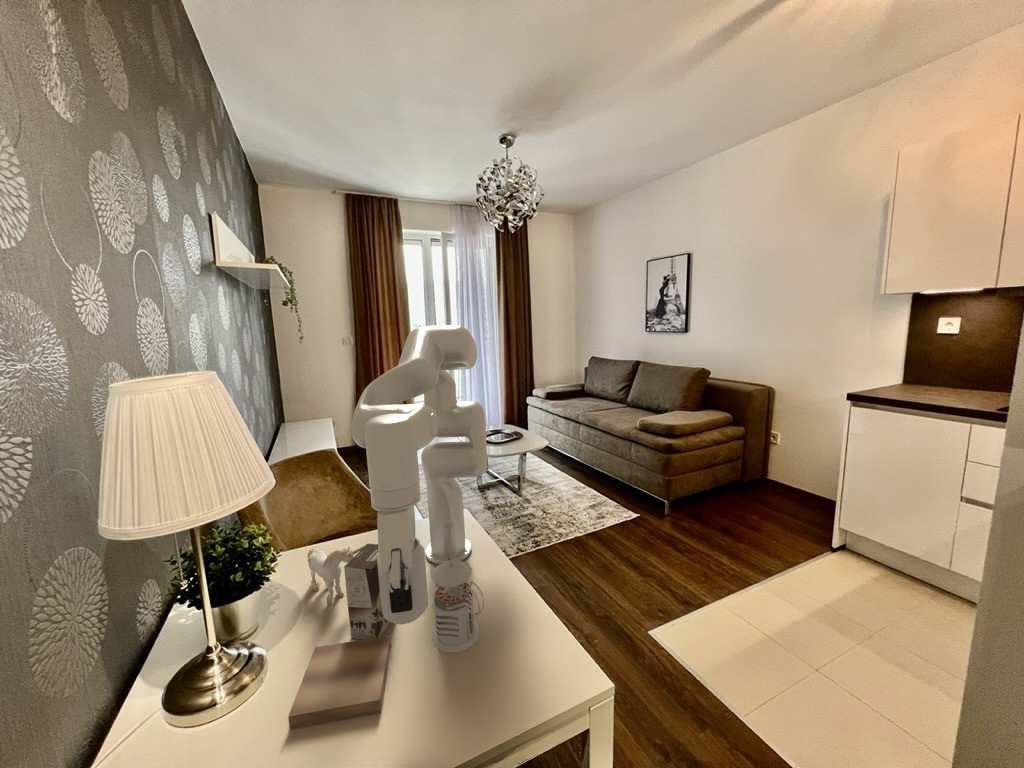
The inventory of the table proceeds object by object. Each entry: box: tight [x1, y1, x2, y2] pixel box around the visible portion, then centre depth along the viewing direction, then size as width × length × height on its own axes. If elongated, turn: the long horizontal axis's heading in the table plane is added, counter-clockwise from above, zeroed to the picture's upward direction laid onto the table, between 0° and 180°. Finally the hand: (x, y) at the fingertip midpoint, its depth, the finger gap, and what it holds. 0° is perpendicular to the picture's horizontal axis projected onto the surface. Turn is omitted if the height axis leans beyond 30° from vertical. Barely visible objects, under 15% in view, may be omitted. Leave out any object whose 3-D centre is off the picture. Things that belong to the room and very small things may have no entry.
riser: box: [287, 634, 392, 731], centre depth 72 cm, size 14×14×2 cm
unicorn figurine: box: [306, 543, 371, 605], centre depth 95 cm, size 7×20×13 cm, turn 67°
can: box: [377, 537, 429, 625], centre depth 66 cm, size 8×8×12 cm
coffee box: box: [343, 543, 391, 640], centre depth 85 cm, size 9×6×16 cm
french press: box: [431, 520, 485, 653], centre depth 80 cm, size 10×12×25 cm
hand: (404, 592), depth 66 cm, fingers closed on can, 7 cm apart
